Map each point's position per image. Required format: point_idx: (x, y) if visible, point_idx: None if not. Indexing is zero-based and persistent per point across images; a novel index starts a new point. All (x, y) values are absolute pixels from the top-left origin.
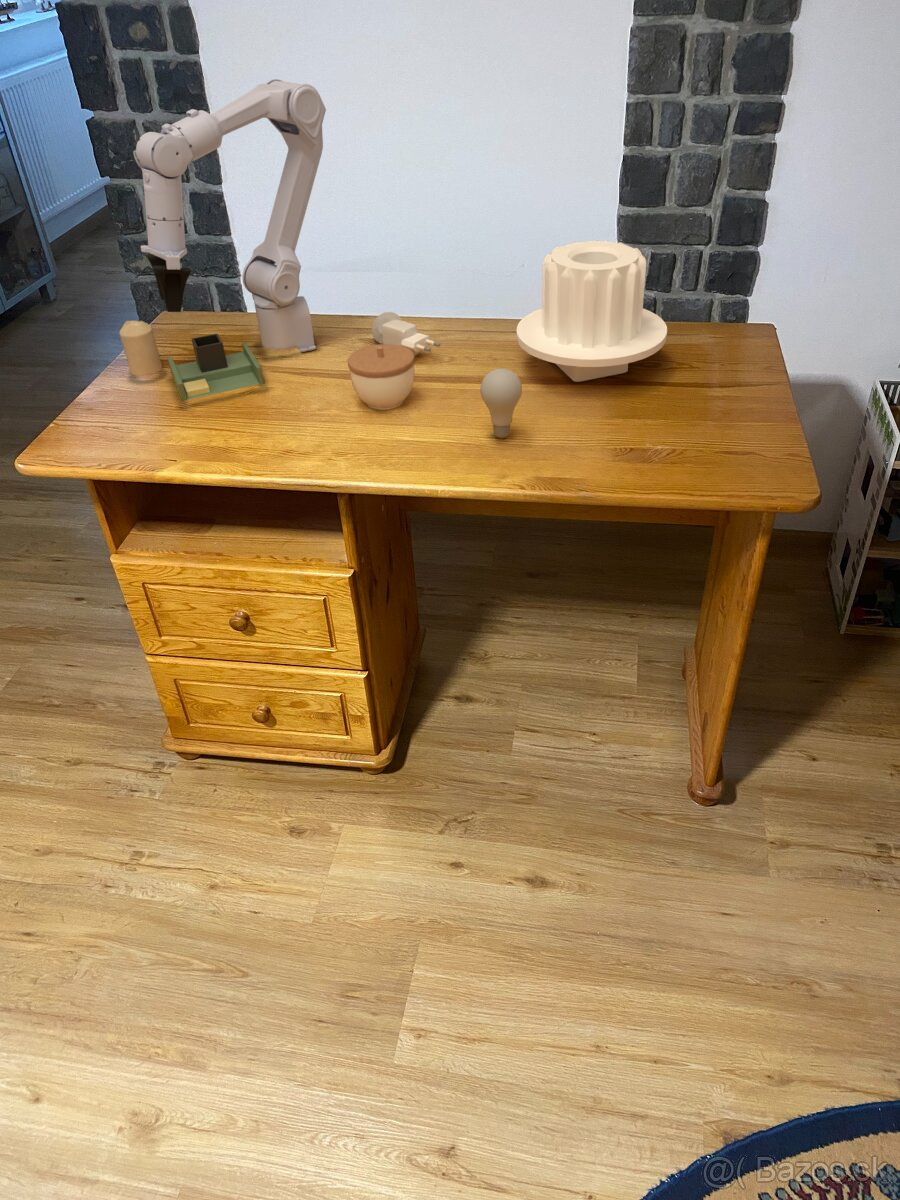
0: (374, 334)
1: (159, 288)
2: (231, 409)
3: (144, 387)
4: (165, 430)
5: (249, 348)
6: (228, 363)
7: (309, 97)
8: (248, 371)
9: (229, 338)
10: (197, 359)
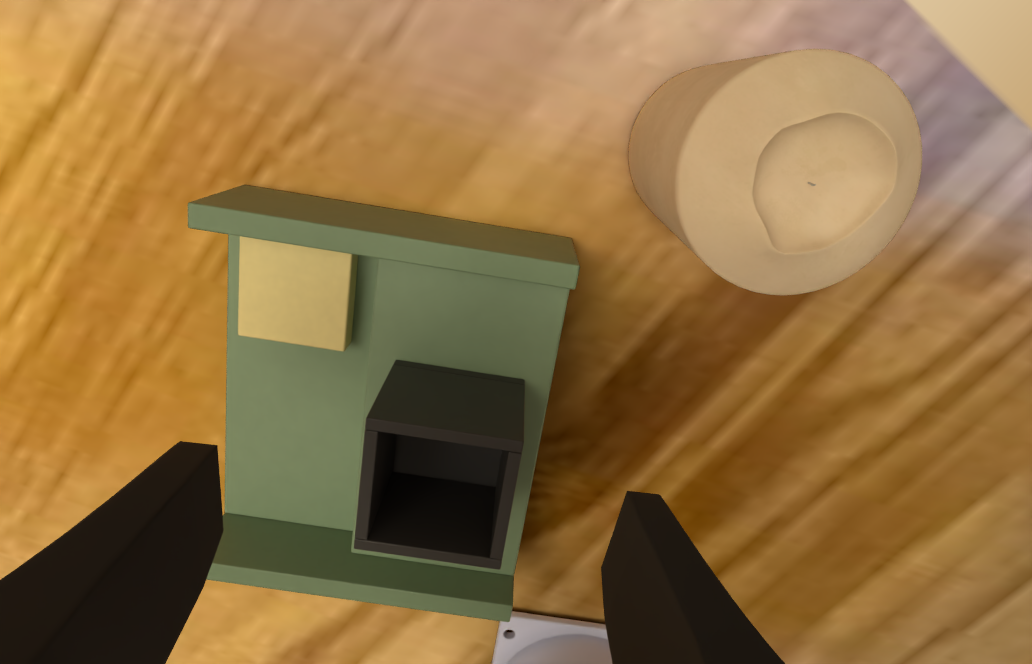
0: None
1: (657, 567)
2: (127, 348)
3: (585, 89)
4: (46, 29)
5: (424, 609)
6: None
7: None
8: None
9: (828, 576)
10: (446, 387)
